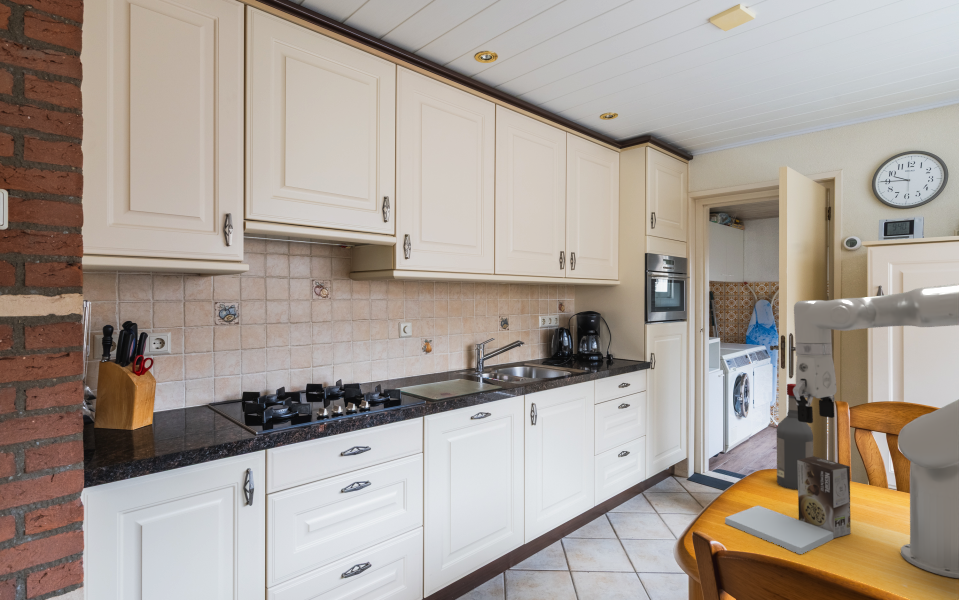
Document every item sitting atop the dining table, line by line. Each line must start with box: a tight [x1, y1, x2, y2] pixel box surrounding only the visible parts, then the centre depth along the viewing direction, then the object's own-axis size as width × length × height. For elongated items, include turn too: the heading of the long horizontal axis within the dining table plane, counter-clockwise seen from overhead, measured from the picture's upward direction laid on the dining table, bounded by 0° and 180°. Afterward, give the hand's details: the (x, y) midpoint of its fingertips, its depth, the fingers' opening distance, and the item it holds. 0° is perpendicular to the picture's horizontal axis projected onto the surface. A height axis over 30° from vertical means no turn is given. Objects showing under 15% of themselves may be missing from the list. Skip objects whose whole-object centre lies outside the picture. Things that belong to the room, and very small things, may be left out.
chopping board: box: [724, 505, 835, 555], centre depth 123 cm, size 18×14×2 cm
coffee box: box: [797, 455, 852, 539], centre depth 124 cm, size 9×6×16 cm
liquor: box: [776, 383, 814, 491], centre depth 152 cm, size 9×9×30 cm
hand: (816, 419), depth 125 cm, fingers open, 9 cm apart
